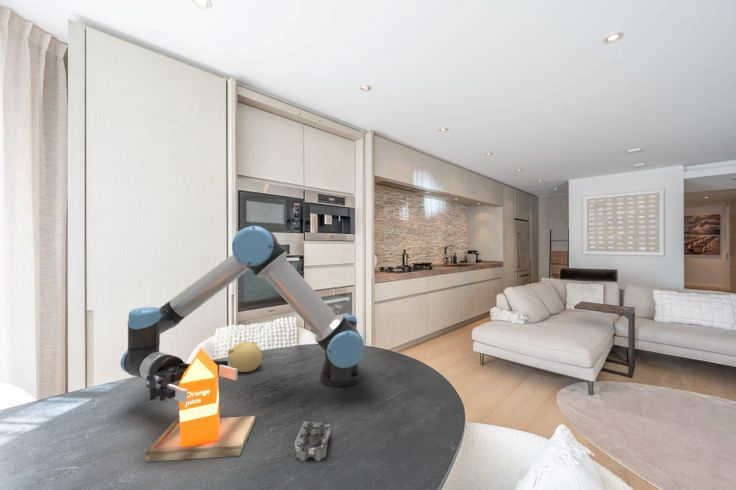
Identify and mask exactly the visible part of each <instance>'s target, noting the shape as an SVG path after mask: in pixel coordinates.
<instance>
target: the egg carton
mask: <svg viewBox="0 0 736 490" xmlns="http://www.w3.org/2000/svg"><path fill="white" fill-rule="evenodd" d="M322 434H323V438H322V439H321V441H320V436H321V435H322ZM308 435H309V443H310V445H311V446H316V445H318V444H319V443H320V442H321V445H320V446H317V447H311V448H306V449H305V450H304V444H306V443H307V436H308ZM330 435H331V427H330V423H327V424H324V423H323V422H319V421H317V422H315V421H311V422H310V421H306V420H303V422H302V425H301V427H300V428H299V431H298V434H297V436H296V438H295V440H294V448H295V452H296V454H295V456H296V458H297V459H299V460H300V462H306V460H308V459H310V458H309V457H313V459H314V460H315V462H320V461H321V460H322V459H324V458H326V456H327V452H328V451H327V448H328V443H329V439H330Z"/></svg>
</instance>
